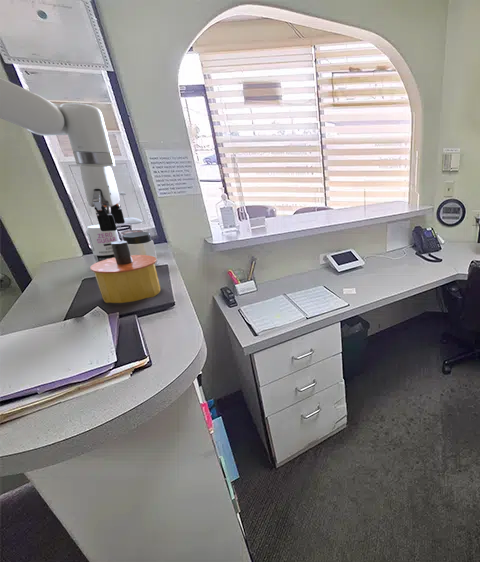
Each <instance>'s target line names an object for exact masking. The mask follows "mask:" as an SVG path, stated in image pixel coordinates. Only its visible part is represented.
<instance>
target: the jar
mask: <svg viewBox="0 0 480 562" xmlns="http://www.w3.org/2000/svg"><path fill="white" fill-rule="evenodd" d="M121 235H122V236H121V237H123V241H127V243H128V247H129V250H130V254H131V255H148V256H153V257H155V258H156V260H157V261H156V263H154V264H155V267H156V266H159V265H160V263H159V260H158V255H157V252H156V247H155V243H154V240H152V236H151V233H150V232H149V231H143V232H132V233H127V234H121Z"/></svg>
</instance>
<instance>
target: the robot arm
mask: <svg viewBox="0 0 480 562" xmlns="http://www.w3.org/2000/svg"><path fill="white" fill-rule="evenodd" d="M0 119H1V120H4V121H6V122H9V123H11V124H13V125H16V126H19V127H21V128H23V129H25V130H26V131H28V132H30V133H33V134H35V135H38V136H43V137H44V136H45V137H46V136H48V137H50V136H67V137H68V141H69V144H70V147H71V151H72V154H73V158H74V160H75V164H76V166H77V167H80V175H81V179H82V184H83V188H84V193H85V196H86V200H87V205H88V206H89V207H90V208H94V210H95V215H96V219H97V222H98V224H99V226H100V229H101V231H116V230H117V231H118V227H116V226H117V225H121V223H125V220H124V218H125V217H124V214H123V209H122V207H121V204H120V202H121V197H120V196H121V195H120V194H119V193H120V192H119V188H118V185H117V181H116V179H115V175H114V171H113V169H112V167H116V161H115V158H114V155H113V152H112V147H111V143H110V139H109V134H108V131H107V127H106V124H105V119H104V116H103V113H102V111H101V109H100V108H98V107H97V106H95V105H91V104H85V103H76V102H64V103H61V104H59V103H53V102H51V101H50V100H48V99H47V98H45V97H43V96H41V95H39V94H37V93H35V92H33V91H30V90H28V89H26V88H24V87H22V86H20V85H18V84H16V83H13V82H12V81H9V80H7V79H5V78H3V77H1V76H0Z"/></svg>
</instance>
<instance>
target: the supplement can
mask: <svg viewBox="0 0 480 562" xmlns="http://www.w3.org/2000/svg"><path fill="white" fill-rule="evenodd" d="M86 228H87V229H86V231H85V233H86V236H87V239H88V242H89V245H90V249H91V251H92V254H93V255H92V256H93V257H94V261H95V263H97V262H99V261H102V260H106V259H110V258H115V256H114V253H113V249H112V246H111V243H112V242H115V241H121V240H120V236H119V232H118V229H117V230H116V231H101V229H100V226H99V223H97V224H91V225H88V226H87V227H86Z"/></svg>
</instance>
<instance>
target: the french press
mask: <svg viewBox="0 0 480 562" xmlns="http://www.w3.org/2000/svg"><path fill="white" fill-rule="evenodd" d="M126 195H127V194H126V192H124V191H120V192H119V196H122V198H123V202H124V206H125V210H126V214H127V217H124V220H125V223H121V224H116V228H117V229H119V230H121V229H122V226H123V225H124V226H125V225H128V226H130V229H129V230H128V229H126V230H123V231H122V232H121V235H124V234H127V233H132V232H144V230H143V229H133V226H132V225H138V224H141V223H143V220H142V219H140V218H138V217H131V216H129V212H128V207H127V204H126V200H125V197H124V196H126ZM120 238H121V241H123V237H122V236H121V237H120Z"/></svg>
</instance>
